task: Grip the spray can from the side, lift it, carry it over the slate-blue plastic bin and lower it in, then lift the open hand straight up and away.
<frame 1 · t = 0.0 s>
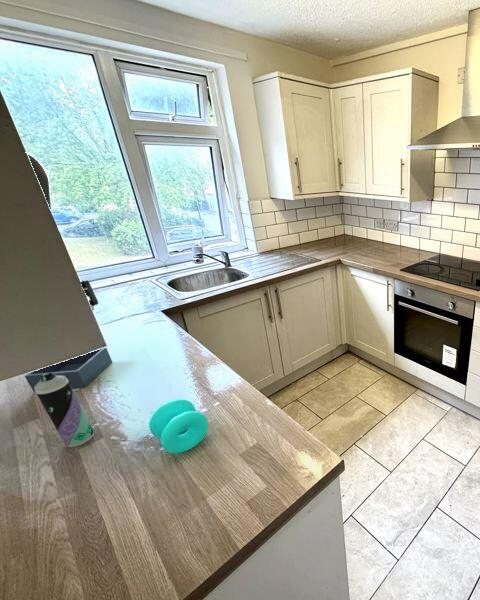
hand: (78, 336, 70), 30 cm above the countertop, tool pointing down, fingers open, 8 cm apart
spray can: (80, 439, 82), on the countertop
turquoise spool: (184, 440, 82), on the countertop
bin: (75, 376, 105), on the countertop
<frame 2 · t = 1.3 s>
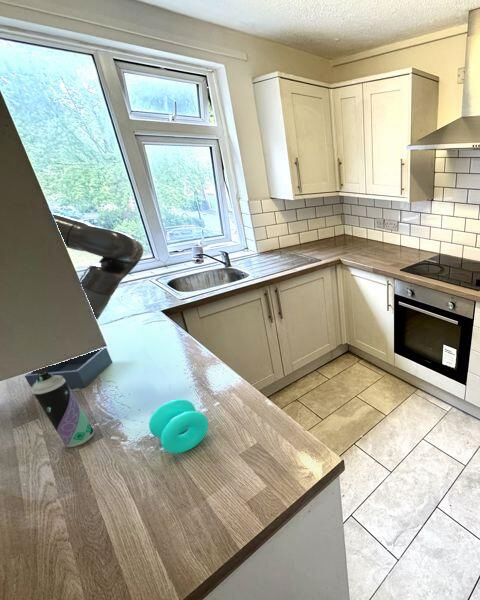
hand: (41, 367, 77), 20 cm above the countertop, tool tilted 45°, fingers open, 8 cm apart
spray can: (80, 439, 82), on the countertop, touching gripper
everything else where it was.
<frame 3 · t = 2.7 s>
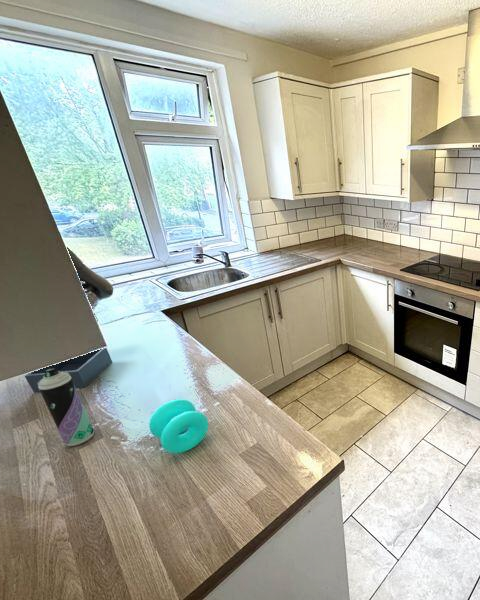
hand: (48, 339, 80), 24 cm above the countertop, tool horizontal, fingers open, 8 cm apart
spray can: (80, 438, 82), on the countertop
everything else where it was.
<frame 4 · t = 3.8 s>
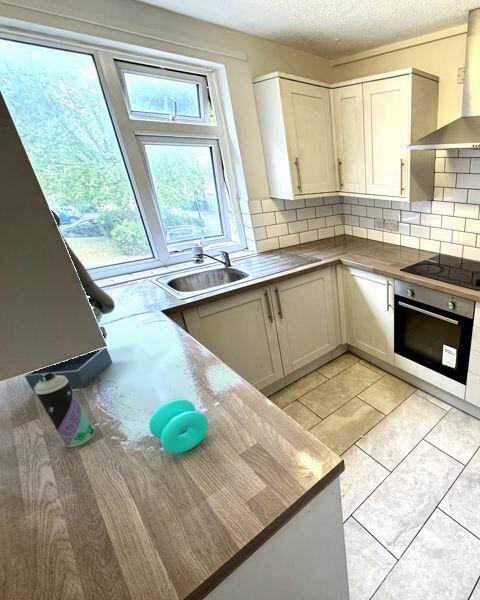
hand: (63, 354, 83), 19 cm above the countertop, tool horizontal, fingers open, 8 cm apart
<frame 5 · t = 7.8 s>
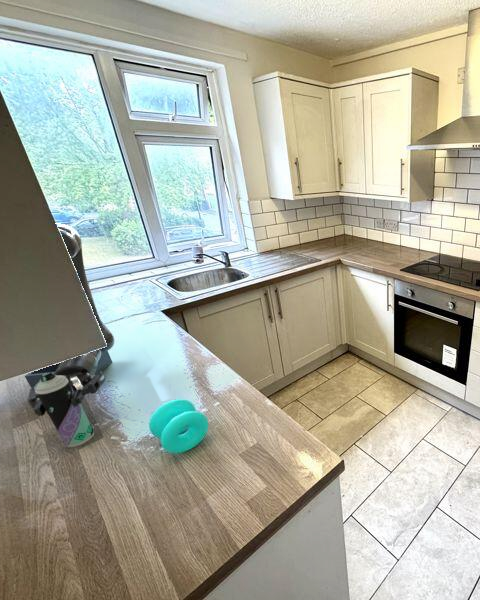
hand: (57, 407, 76), 12 cm above the countertop, tool horizontal, fingers closed on spray can, 5 cm apart
spray can: (80, 439, 82), on the countertop, touching gripper
everything else where it was.
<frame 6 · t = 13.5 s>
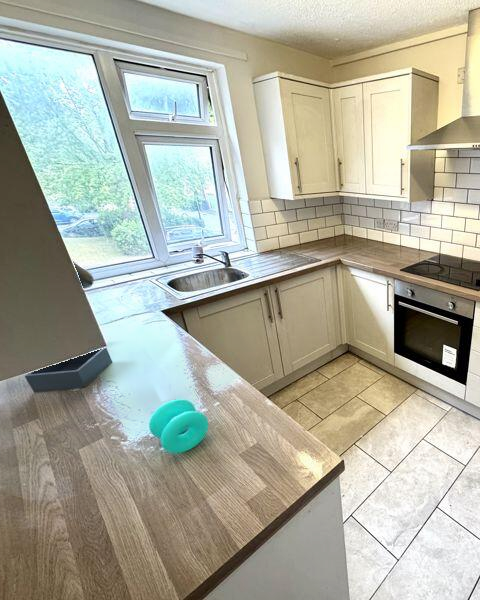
hand: (34, 322, 84), 26 cm above the countertop, tool horizontal, fingers closed on spray can, 5 cm apart
spray can: (57, 357, 91), point 14 cm above the countertop, touching gripper
everything else where it was.
when the fingers open (13 cm above the countertop, at t = 19.2 s): spray can stays where it is, resting on bin.
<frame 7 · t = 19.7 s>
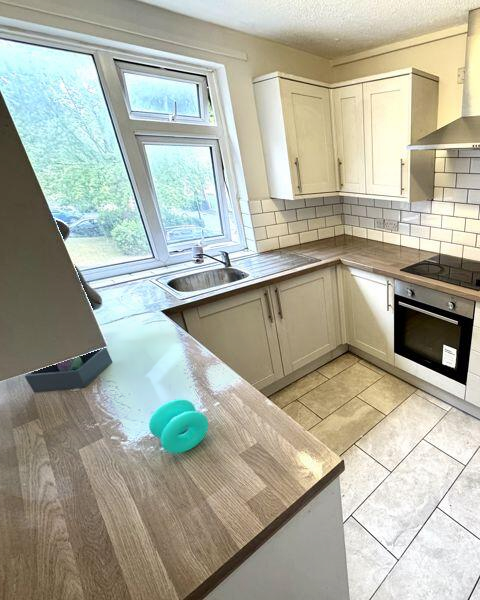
hand: (55, 341, 98), 14 cm above the countertop, tool horizontal, fingers open, 8 cm apart
spray can: (74, 373, 105), point 1 cm above the countertop, touching bin
everything else where it was.
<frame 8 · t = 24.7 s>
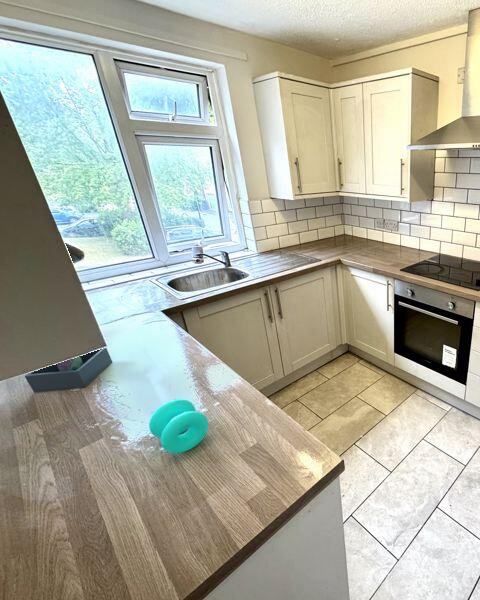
hand: (27, 285, 91), 32 cm above the countertop, tool horizontal, fingers open, 8 cm apart
nothing on the countertop moved.
at the end: spray can inside the target area in the bin (0.1 cm from its centre), point 0.8 cm above the bin's base; the gripper is holding nothing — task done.
